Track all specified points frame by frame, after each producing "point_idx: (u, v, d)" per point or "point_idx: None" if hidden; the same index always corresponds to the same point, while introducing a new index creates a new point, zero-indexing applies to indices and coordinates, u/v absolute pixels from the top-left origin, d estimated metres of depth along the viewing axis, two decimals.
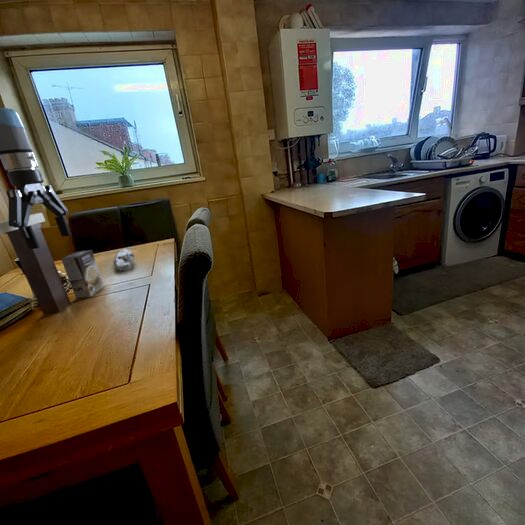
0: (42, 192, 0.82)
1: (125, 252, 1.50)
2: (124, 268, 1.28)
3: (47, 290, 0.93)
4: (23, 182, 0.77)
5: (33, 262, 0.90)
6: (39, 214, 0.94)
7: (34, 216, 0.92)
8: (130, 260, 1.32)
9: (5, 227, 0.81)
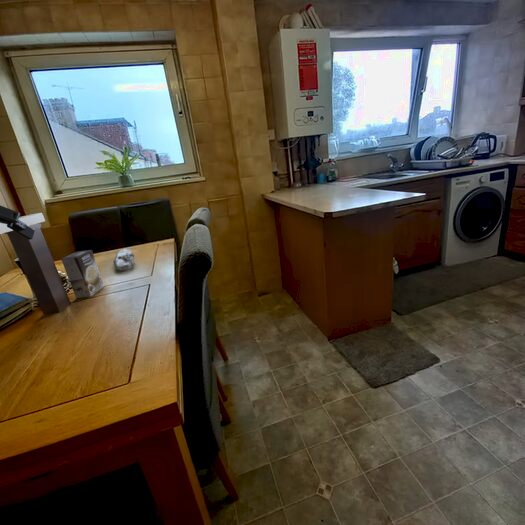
0: None
1: (125, 252, 1.50)
2: (124, 268, 1.28)
3: (47, 290, 0.93)
4: None
5: (33, 262, 0.90)
6: (39, 214, 0.94)
7: (34, 216, 0.92)
8: (130, 260, 1.32)
9: (5, 227, 0.81)
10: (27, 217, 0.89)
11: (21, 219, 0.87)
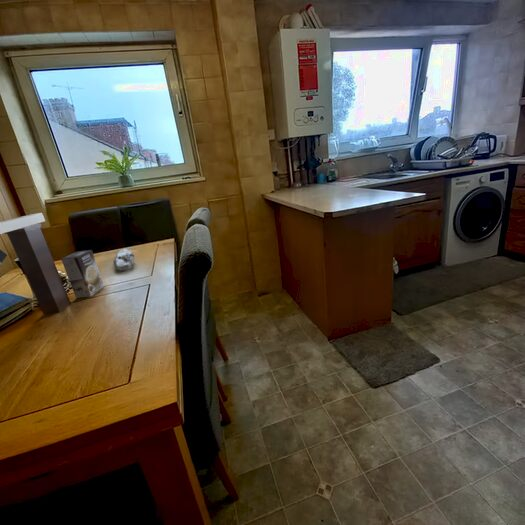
0: None
1: (125, 252, 1.50)
2: (124, 268, 1.28)
3: (47, 290, 0.93)
4: None
5: (33, 262, 0.90)
6: (39, 214, 0.94)
7: (34, 216, 0.92)
8: (130, 260, 1.32)
9: (5, 227, 0.81)
10: (27, 217, 0.89)
11: (21, 219, 0.87)
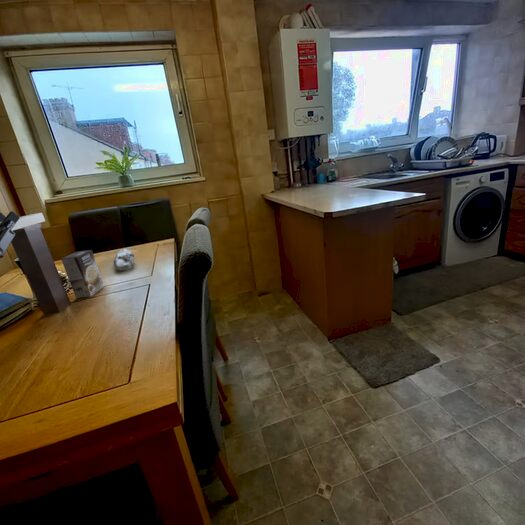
0: None
1: (125, 252, 1.50)
2: (124, 268, 1.28)
3: (47, 290, 0.93)
4: None
5: (33, 262, 0.90)
6: (39, 214, 0.94)
7: (34, 216, 0.92)
8: (130, 260, 1.32)
9: None
10: (27, 217, 0.89)
11: (21, 219, 0.87)
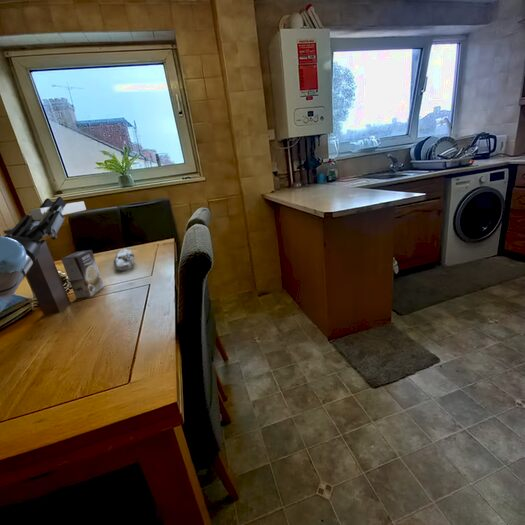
0: None
1: (125, 252, 1.50)
2: (124, 268, 1.28)
3: (47, 290, 0.93)
4: None
5: None
6: (81, 202, 0.94)
7: (77, 204, 0.92)
8: (130, 260, 1.32)
9: None
10: (72, 204, 0.90)
11: (67, 205, 0.87)
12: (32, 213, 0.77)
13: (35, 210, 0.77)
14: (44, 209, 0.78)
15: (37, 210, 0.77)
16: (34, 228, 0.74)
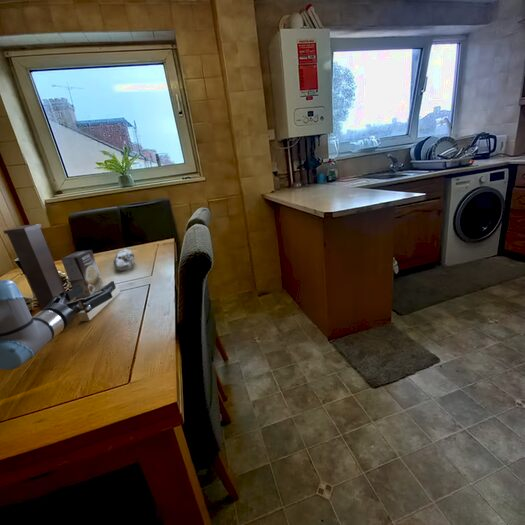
0: None
1: (125, 252, 1.50)
2: (124, 268, 1.28)
3: (47, 290, 0.93)
4: None
5: (33, 262, 0.90)
6: (116, 287, 1.04)
7: (113, 290, 1.02)
8: (130, 260, 1.32)
9: (96, 309, 0.92)
10: None
11: None
12: (80, 316, 0.88)
13: (82, 313, 0.87)
14: None
15: (84, 313, 0.87)
16: (77, 300, 0.82)
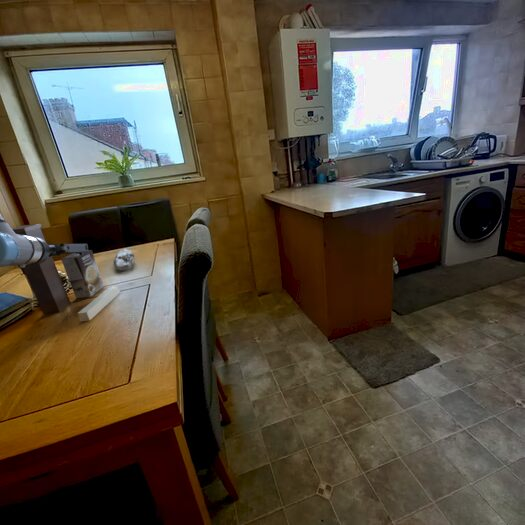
0: None
1: (125, 252, 1.50)
2: (124, 268, 1.28)
3: (47, 290, 0.93)
4: None
5: None
6: (116, 287, 1.04)
7: (113, 290, 1.02)
8: (130, 260, 1.32)
9: (96, 309, 0.92)
10: (109, 293, 1.00)
11: (106, 297, 0.98)
12: (80, 316, 0.88)
13: (82, 313, 0.87)
14: (89, 311, 0.89)
15: (84, 313, 0.87)
16: (51, 244, 0.79)
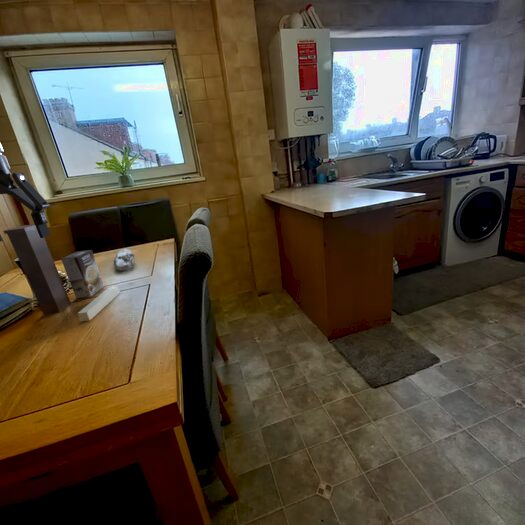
0: None
1: (125, 252, 1.50)
2: (124, 268, 1.28)
3: (47, 290, 0.93)
4: None
5: (33, 262, 0.90)
6: (116, 287, 1.04)
7: (113, 290, 1.02)
8: (130, 260, 1.32)
9: (96, 309, 0.92)
10: (109, 293, 1.00)
11: (106, 297, 0.98)
12: (80, 316, 0.88)
13: (82, 313, 0.87)
14: (89, 311, 0.89)
15: (84, 313, 0.87)
16: None
